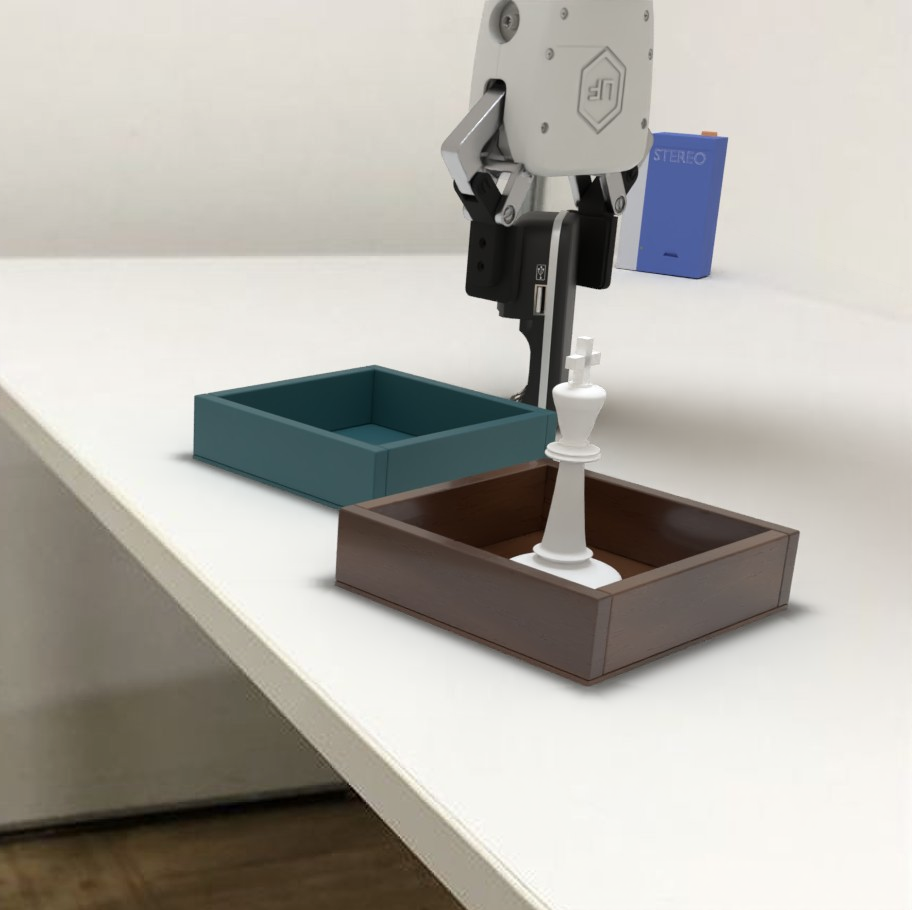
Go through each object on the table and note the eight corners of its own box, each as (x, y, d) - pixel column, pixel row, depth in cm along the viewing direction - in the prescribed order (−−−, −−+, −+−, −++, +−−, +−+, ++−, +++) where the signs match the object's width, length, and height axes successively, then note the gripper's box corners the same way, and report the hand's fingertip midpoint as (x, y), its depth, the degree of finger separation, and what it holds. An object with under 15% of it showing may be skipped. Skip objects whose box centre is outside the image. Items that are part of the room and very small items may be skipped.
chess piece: (470, 589, 63) (492, 335, 60) (541, 561, 67) (566, 319, 63) (577, 623, 60) (606, 358, 57) (646, 592, 64) (678, 340, 60)
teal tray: (371, 429, 88) (374, 364, 87) (551, 483, 80) (558, 412, 78) (192, 465, 80) (193, 395, 79) (371, 530, 72) (375, 451, 71)
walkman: (710, 275, 142) (729, 132, 137) (697, 278, 140) (716, 134, 135) (628, 264, 146) (644, 125, 142) (614, 267, 144) (630, 127, 140)
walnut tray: (537, 535, 72) (545, 457, 71) (786, 617, 63) (801, 530, 62) (333, 594, 64) (338, 507, 63) (586, 697, 56) (598, 599, 54)
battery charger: (501, 403, 95) (514, 203, 91) (566, 408, 94) (583, 206, 90) (485, 433, 89) (499, 219, 84) (555, 438, 88) (573, 223, 83)
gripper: (518, -67, 74) (484, 320, 81) (733, -52, 85) (688, 288, 92) (400, -68, 79) (378, 296, 86) (618, -53, 90) (583, 269, 97)
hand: (538, 289), depth 89 cm, fingers closed on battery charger, 7 cm apart
